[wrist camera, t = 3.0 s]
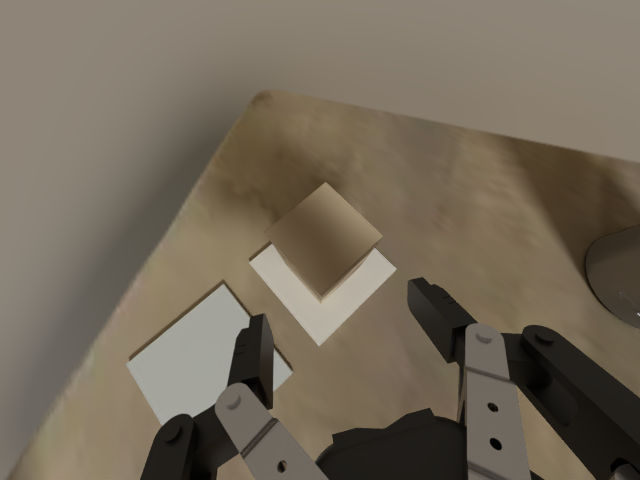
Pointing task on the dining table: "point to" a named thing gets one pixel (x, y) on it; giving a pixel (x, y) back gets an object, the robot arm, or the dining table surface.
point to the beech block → (323, 241)
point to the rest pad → (195, 358)
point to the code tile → (337, 306)
